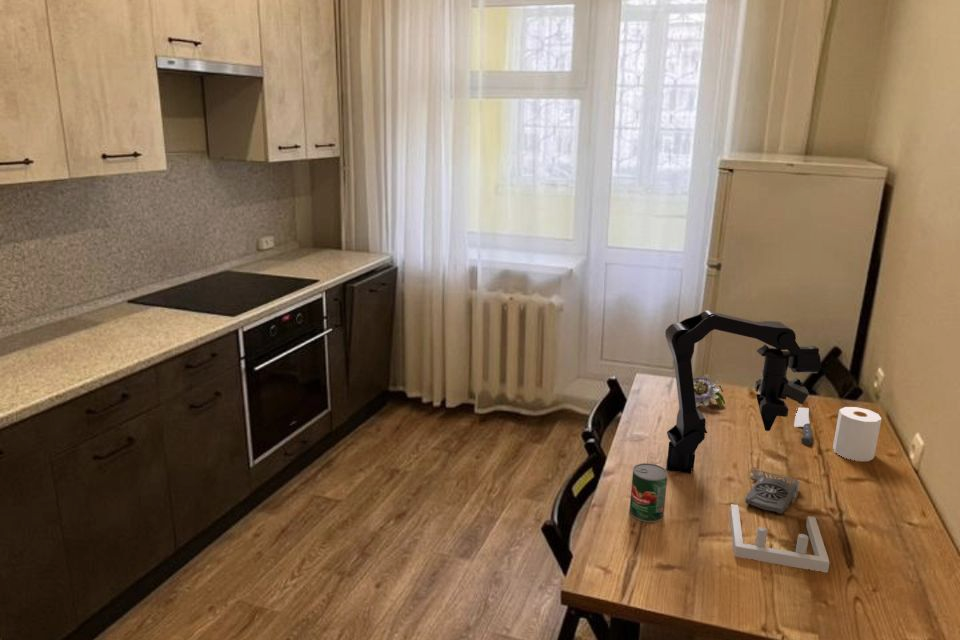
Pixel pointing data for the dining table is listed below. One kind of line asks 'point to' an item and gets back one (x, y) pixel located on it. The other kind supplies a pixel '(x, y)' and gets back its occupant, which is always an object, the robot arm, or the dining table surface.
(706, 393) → the passion flower
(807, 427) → the kitchen knife
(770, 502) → the graphics card
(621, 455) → the dining table surface
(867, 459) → the toilet paper
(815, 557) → the u-shaped peg rack
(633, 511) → the canned tomato
